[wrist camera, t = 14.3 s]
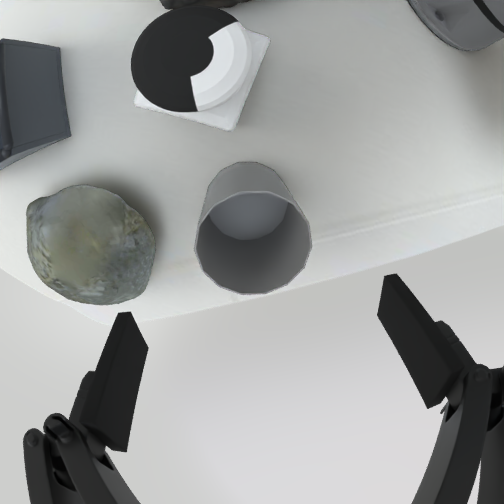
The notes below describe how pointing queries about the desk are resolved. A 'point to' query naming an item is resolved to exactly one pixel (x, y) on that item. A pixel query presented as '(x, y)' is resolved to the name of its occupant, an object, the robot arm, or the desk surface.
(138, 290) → the decorative stone
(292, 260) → the cup
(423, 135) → the desk surface
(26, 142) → the basket
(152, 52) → the container
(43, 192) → the desk surface
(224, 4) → the owl
